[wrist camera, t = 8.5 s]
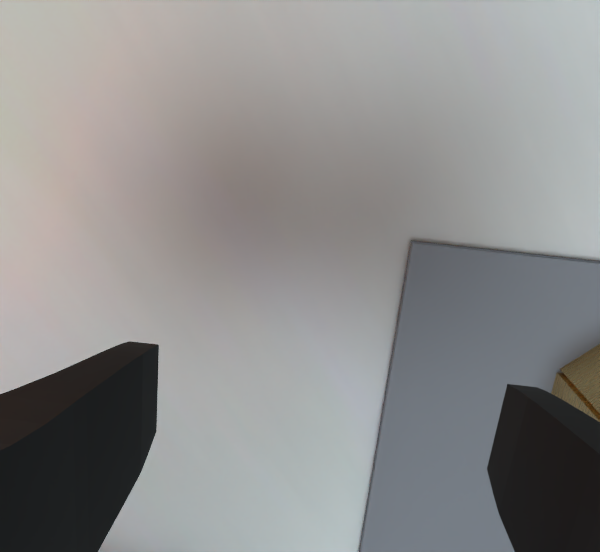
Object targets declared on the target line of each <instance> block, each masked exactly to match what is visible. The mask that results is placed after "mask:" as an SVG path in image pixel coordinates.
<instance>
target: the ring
mask: <svg viewBox="0 0 600 552" xmlns="http://www.w3.org/2000/svg"><path fill="white" fill-rule="evenodd" d="M560 370H561V371H562V373H557V374H556V377H555V381H554V385H553V388H552V392H551V394H553V395H555V396H557V397H558V398H560V399H562V400H564V401H565V402H567V403H569V404H571V405H572V406H574V407H576V408H577V409H579V410H581V411H582V412H584V413H586V414H587V415H589V416H590V417H592V418H594V419H595V420H597V421H599V422H600V344H599V345H597V346H596V347H594V348H592V349H591V350H589V351H588V352H586V353H584V354H583V355H581V356H580V357H578V358H576V359H575V360H573V361H572V362H570V363H568V364H567V365H565V366H564V367H562V368H560Z"/></svg>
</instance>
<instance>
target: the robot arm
mask: <svg viewBox="0 0 600 552" xmlns="http://www.w3.org/2000/svg"><path fill="white" fill-rule="evenodd" d="M158 349H159V345H156V344H147V343H138V342H126V343H123V344H120V345H117V346H115V347H112V348H110V349H108V350H106V351H103V352H101V353H99V354H97V355H94V356H92V357H90V358H88V359H85V360H83V361H81V362H79V363H77V364H74V365H72V366H70V367H68V368H65V369H63V370H61V371H59V372H56V373H54V374H51V375H49V376H46V377H44V378H41V379H39V380H36V381H34V382H31V383H29V384H26V385H24V386H21V387H19V388H16V389H14V390H11V391H9V392H6V393H3V394H0V552H98V550H99V548H100V547H101V545H102V543H103V541H104V539H105V537H106V536H107V534H108V532H109V530H110V528H111V527H112V525H113V523H114V521H115V519H116V517H117V516H118V514H119V512H120V510H121V508H122V507H123V505H124V503H125V501H126V499H127V497H128V495H129V494H130V492H131V490H132V488H133V486H134V484H135V482H136V481H137V479H138V477H139V475H140V473H141V471H142V468H143V465H144V463H145V460H146V458H147V455H148V453H149V450H150V447H151V444H152V442H153V439H154V436H155V433H156V422H157V386H158ZM487 471H488V475H489V479H490V483H491V487H492V491H493V495H494V499H495V502H496V506H497V509H498V512H499V515H500V518H501V520H502V523H503V525H504V527H505V530H506V532H507V535H508V537H509V539H510V542H511V544H512V546H513V549H514V551H515V552H600V422H599V421H597V420H595V419H594V418H592V417H590V416H589V415H587V414H586V413H584V412H582V411H581V410H579V409H577V408H576V407H574V406H572V405H571V404H569V403H567V402H565V401H564V400H562V399H560V398H558V397H557V396H555V395H553V394H551V393H549V392H547V391H545V390H543V389H540V388H538V387H530V386H521V385H512V384H507V387H506V392H505V396H504V400H503V404H502V408H501V412H500V417H499V421H498V425H497V429H496V433H495V437H494V442H493V446H492V450H491V454H490V458H489V462H488V466H487Z"/></svg>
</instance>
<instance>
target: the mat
mask: <svg viewBox="0 0 600 552" xmlns="http://www.w3.org/2000/svg"><path fill="white" fill-rule="evenodd" d="M599 344H600V262H599V261H590V260H581V259H572V258H563V257H554V256H545V255H536V254H527V253H517V252H508V251H499V250H490V249H481V248H472V247H463V246H454V245H444V244H435V243H426V242H417V241H411V244H410V250H409V256H408V262H407V268H406V274H405V280H404V286H403V291H402V297H401V303H400V309H399V315H398V321H397V327H396V333H395V339H394V345H393V351H392V357H391V363H390V369H389V375H388V381H387V387H386V393H385V399H384V405H383V411H382V417H381V423H380V429H379V435H378V441H377V447H376V453H375V459H374V465H373V471H372V477H371V483H370V489H369V495H368V501H367V507H366V513H365V519H364V525H363V531H362V537H361V543H360V549H359V552H515V551H514V549H513V546H512V544H511V542H510V539H509V537H508V535H507V532H506V530H505V527H504V525H503V523H502V520H501V518H500V515H499V512H498V509H497V506H496V502H495V499H494V495H493V491H492V487H491V483H490V479H489V475H488V471H487V466H488V462H489V458H490V454H491V450H492V446H493V442H494V437H495V433H496V429H497V425H498V421H499V417H500V412H501V408H502V404H503V400H504V396H505V392H506V387H507V384H512V385H521V386H530V387H538V388H540V389H543V390H545V391H547V392H549V393H551V392H552V388H553V385H554V381H555V377H556V374H557V373H562V371H561V370H560V368H562V367H564V366H565V365H567V364H568V363H570V362H572V361H573V360H575V359H576V358H578V357H580V356H581V355H583V354H584V353H586V352H588V351H589V350H591V349H592V348H594V347H596V346H597V345H599Z"/></svg>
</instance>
